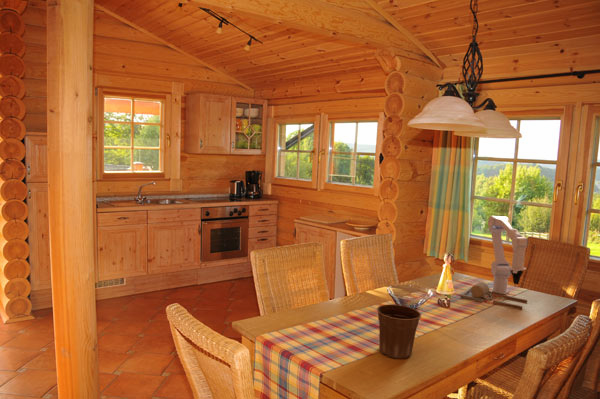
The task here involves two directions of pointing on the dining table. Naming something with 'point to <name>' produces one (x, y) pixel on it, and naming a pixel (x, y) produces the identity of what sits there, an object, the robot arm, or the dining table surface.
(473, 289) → the speckled coffee cup
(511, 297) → the walnut dock
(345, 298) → the dining table surface
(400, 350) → the plant pot
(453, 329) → the dining table surface
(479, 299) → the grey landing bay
